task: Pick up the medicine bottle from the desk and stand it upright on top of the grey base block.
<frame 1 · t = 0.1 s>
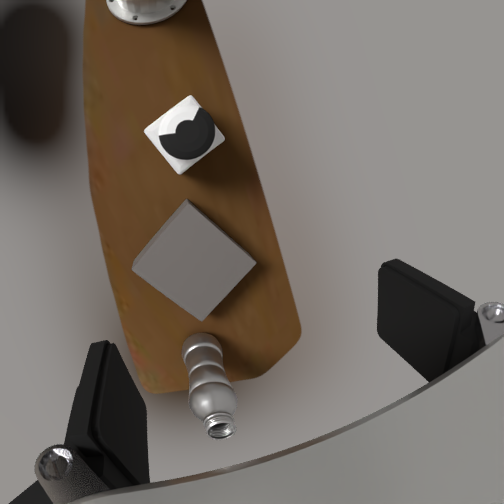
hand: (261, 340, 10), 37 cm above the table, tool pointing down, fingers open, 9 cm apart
plastic bottle: (199, 343, 52), on the table
medicine bottle: (182, 137, 42), on the table
base block: (192, 257, 47), on the table
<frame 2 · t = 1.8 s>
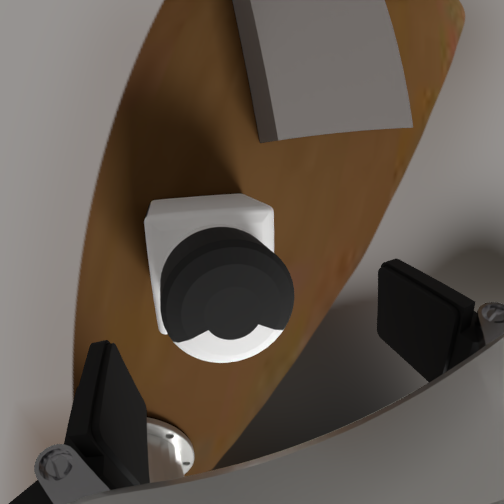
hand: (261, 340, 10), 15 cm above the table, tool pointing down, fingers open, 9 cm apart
medicine bottle: (199, 241, 24), on the table
base block: (315, 60, 22), on the table
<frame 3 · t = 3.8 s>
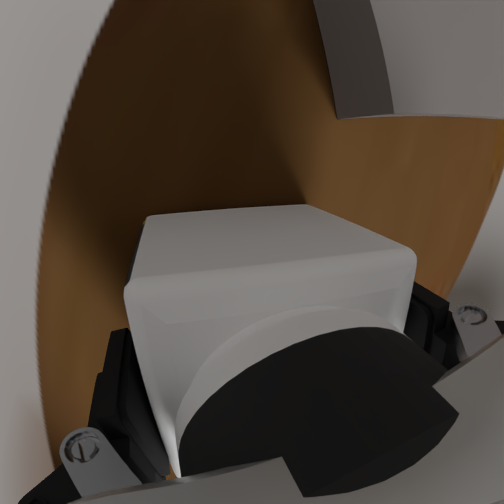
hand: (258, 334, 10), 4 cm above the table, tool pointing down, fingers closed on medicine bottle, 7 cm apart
medicine bottle: (232, 285, 14), on the table, touching gripper
base block: (405, 8, 12), on the table
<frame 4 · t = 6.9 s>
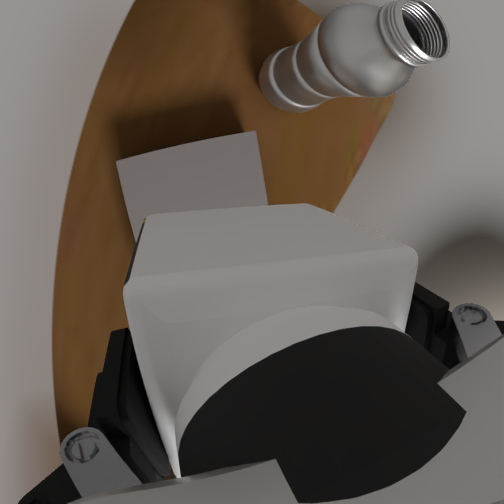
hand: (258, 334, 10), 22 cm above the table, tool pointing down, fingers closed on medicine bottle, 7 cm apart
plastic bottle: (283, 85, 29), on the table
medicine bottle: (232, 284, 14), point 18 cm above the table, touching gripper
base block: (196, 210, 31), on the table
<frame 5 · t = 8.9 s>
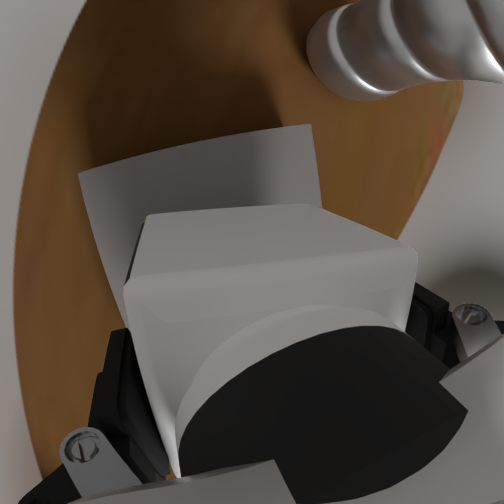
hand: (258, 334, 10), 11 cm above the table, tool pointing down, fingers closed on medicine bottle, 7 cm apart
plastic bottle: (337, 62, 19), on the table
medicine bottle: (232, 284, 14), point 7 cm above the table, touching gripper
base block: (211, 245, 20), on the table
when the fingers open (9 cm above the table, at t = 10.4 s): medicine bottle stays where it is, resting on base block.
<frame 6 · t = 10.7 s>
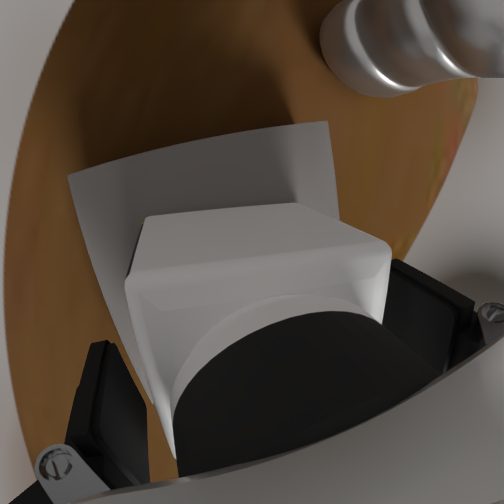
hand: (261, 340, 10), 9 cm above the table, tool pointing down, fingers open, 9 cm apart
plastic bottle: (351, 55, 17), on the table
medicine bottle: (227, 280, 15), point 4 cm above the table, touching base block
base block: (215, 253, 19), on the table
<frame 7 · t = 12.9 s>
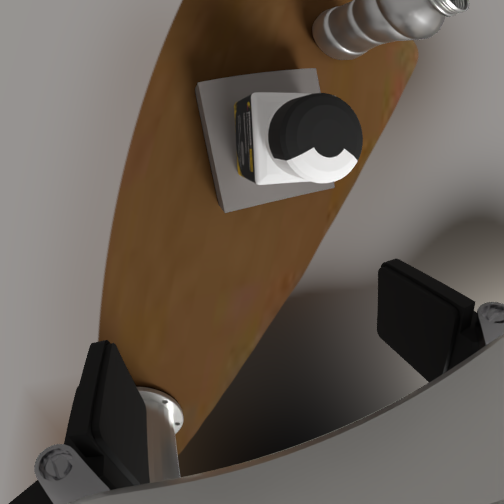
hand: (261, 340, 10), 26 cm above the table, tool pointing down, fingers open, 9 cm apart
plastic bottle: (330, 39, 31), on the table
medicine bottle: (270, 137, 30), point 4 cm above the table, touching base block
base block: (260, 136, 33), on the table
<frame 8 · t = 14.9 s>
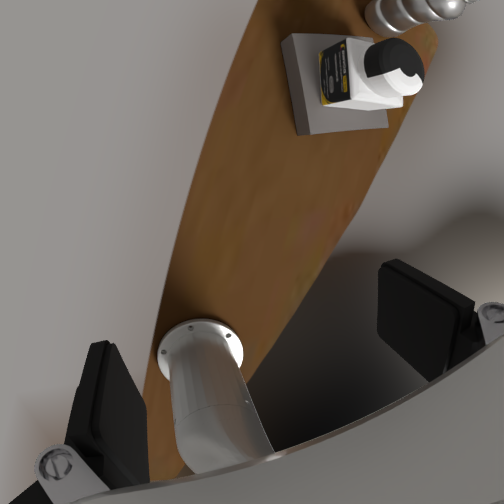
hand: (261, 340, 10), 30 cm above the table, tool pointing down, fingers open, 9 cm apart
plastic bottle: (375, 22, 36), on the table
medicine bottle: (343, 81, 34), point 4 cm above the table, touching base block
base block: (329, 85, 38), on the table
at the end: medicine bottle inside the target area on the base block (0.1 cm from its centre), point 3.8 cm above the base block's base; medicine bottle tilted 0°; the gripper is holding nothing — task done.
